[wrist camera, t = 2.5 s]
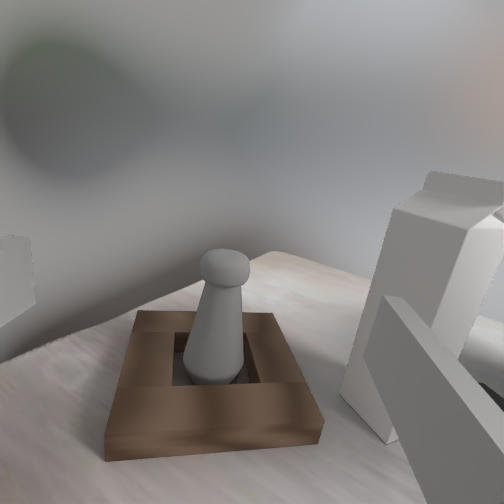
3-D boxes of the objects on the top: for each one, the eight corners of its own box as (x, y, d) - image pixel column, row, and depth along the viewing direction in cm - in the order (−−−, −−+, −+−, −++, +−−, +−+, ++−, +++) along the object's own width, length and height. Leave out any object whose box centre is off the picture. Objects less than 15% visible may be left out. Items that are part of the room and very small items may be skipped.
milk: (386, 446, 26) (487, 180, 19) (337, 393, 31) (402, 166, 24) (431, 425, 29) (534, 186, 22) (380, 379, 34) (450, 172, 27)
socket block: (269, 330, 40) (272, 312, 39) (317, 443, 25) (324, 420, 25) (137, 329, 36) (137, 310, 36) (105, 461, 22) (104, 435, 21)
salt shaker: (172, 391, 29) (181, 258, 24) (192, 352, 34) (202, 238, 30) (234, 405, 28) (255, 272, 24) (245, 364, 33) (263, 249, 29)
